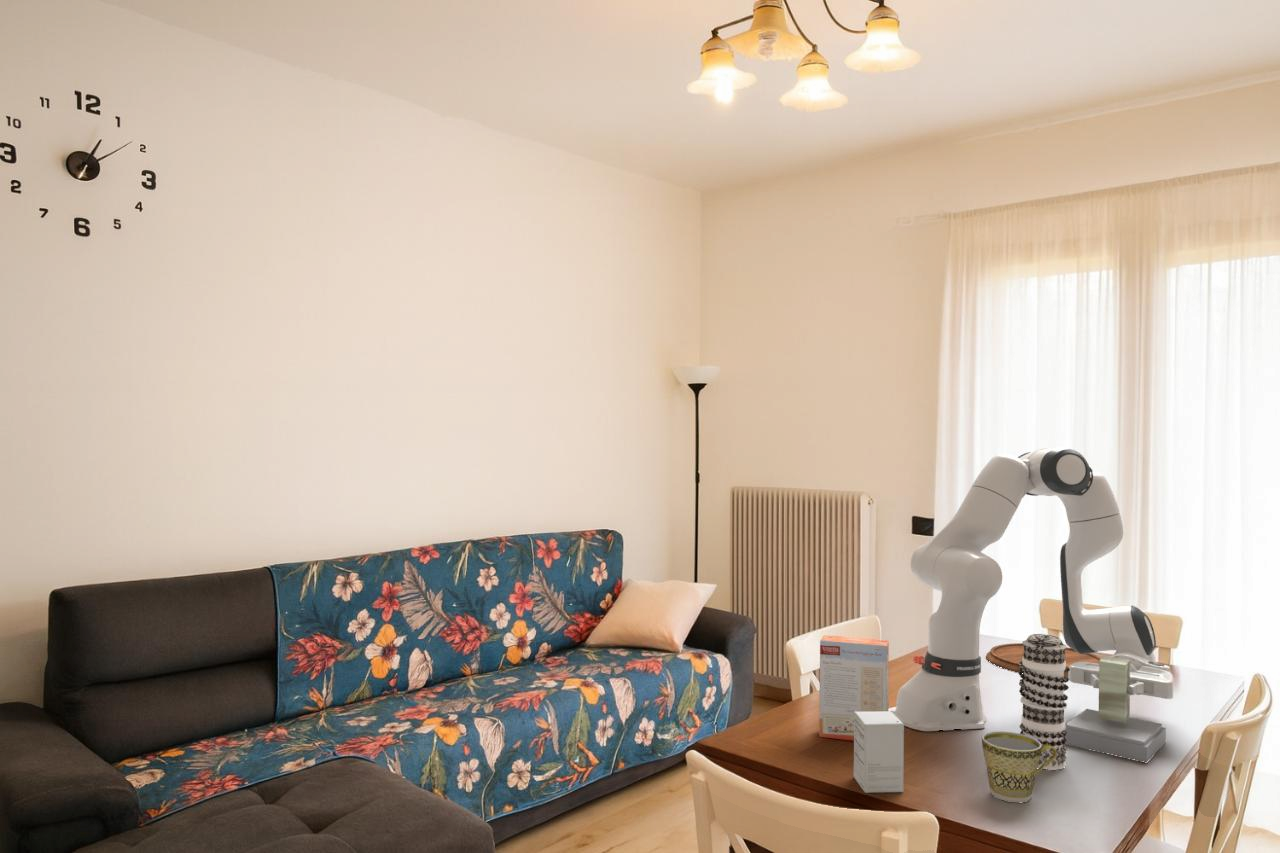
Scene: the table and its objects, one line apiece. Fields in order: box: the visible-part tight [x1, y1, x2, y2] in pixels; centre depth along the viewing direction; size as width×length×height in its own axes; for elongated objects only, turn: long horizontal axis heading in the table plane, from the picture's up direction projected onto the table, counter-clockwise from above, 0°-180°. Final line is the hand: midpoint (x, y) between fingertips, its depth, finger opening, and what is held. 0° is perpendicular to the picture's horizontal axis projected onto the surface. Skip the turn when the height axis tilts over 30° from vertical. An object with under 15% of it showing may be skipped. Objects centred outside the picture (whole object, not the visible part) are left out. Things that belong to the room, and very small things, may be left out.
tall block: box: [1098, 655, 1131, 723], centre depth 188 cm, size 5×5×12 cm
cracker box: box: [818, 634, 890, 742], centre depth 190 cm, size 14×6×21 cm, turn 70°
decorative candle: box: [1018, 633, 1070, 771], centre depth 177 cm, size 9×9×25 cm
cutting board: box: [985, 642, 1103, 677], centre depth 253 cm, size 32×32×3 cm
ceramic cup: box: [981, 730, 1056, 804], centre depth 161 cm, size 13×10×10 cm
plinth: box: [1064, 708, 1167, 762], centre depth 188 cm, size 16×16×4 cm
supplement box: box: [853, 711, 905, 794], centre depth 165 cm, size 7×7×13 cm
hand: (1113, 687), depth 188 cm, fingers closed on tall block, 5 cm apart
